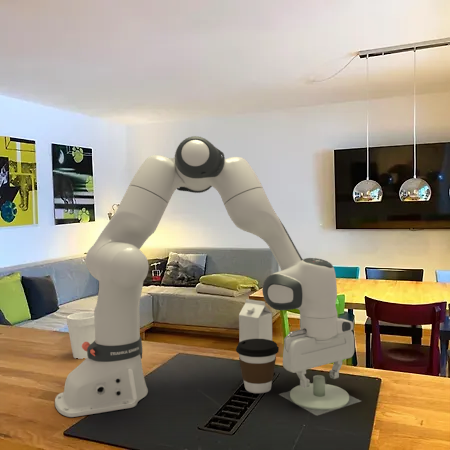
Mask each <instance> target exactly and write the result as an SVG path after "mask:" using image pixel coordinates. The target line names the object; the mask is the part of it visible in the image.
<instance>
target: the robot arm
mask: <svg viewBox="0 0 450 450" xmlns="http://www.w3.org/2000/svg"><path fill="white" fill-rule="evenodd" d="M211 188H214V189H215V190H216V191H217V192H218V194H219V196H220V198H221V201H222V202H223V206H224V208H225V210H226V212H227V215H228V216H229V218H230V220H231V221H232V223H233V224H234V225H235V227H236V228H238V229H240V230H242V231H244V232H247V233H250V234H252V235H254V236H256V237H257V238H260V239H261V240H262V241H264V242H265V244H266V245H267V246H268V247H269V249H270V251H271V253H272V255H273V256H274V259H275V260H276V262H277V264H278V266H279V267H280V270H279V271H276V272H273V273H271V274H270V275H268V276H267V277H266V278H265V280H264V281H263V285H262V297H263V299H264V302H265V304H267V305H268V307H270V308H272V309H273V310H276V311H287V310H288V311H289V310H290V311H291V310H299V318H300V319H299V321H300V322H299V325H300V329H298V330H294V331H289V332H288V334H287V335H286V336H285V337H284V340H283V342H284V344H283V353H282V366H283V368H284V370H285V371H288V372H290V373H294V374H295V373H296V375H297V377H298V379H299V385H301V387H303V388H306V387H309V386H310V384H309V383H311V382H310V379H309V378H307V377H306V376H305V375H306V374H307V370H310V369H315V368H317V367H321V366H324V365H328V364H332V363H333V365H332V368H331V369H330V370H328V371H329V378H330V379H333V380H336V379H339V377H340V370H341V367H342V365H343V360H347V359H351V358H352V357H353V356H354V353H355V335H354V332H353V330H354V322H353V321H351V320H348V319H345V318H341V317H338V309H337V306H336V302H337V298H338V290H337V289H338V288H337V287H338V286H337V276H336V271H335V268H334V266H333V264H332V263H331V262H329V261H327V260H326V259H322V258H316V257H315V258H314V257H306V258H302V256H301V254H300V252H299V250H298V249H297V247H296V245H295V243H294V242H293V239H292V238H291V236H290V234H289V232H288V231H287V228H286V227H285V225H284V224H283V223H282V220H281V219H280V217H279V216H278V215H277V213H276V212H275V209H274V208H273V206H272V203H271V202H270V200H269V197H268V196H267V194H266V192H265V189H264V187H263V185H262V183H261V181H260V179H259V178H258V176H257V173H256V172H255V170H254V169H253V168H252V166H251V165H250V163H249V162H248V161H247V160H246V158H244V157H241V156H230V157H228V158H225V154H224V152H223V151H221V150H220V149H218V147H216V146H215V145H214V144H213V143H212V142H210V141H209V140H208V139H206V138H204V137H202V136H197V135H193V136H189V137H187V138H184V139H183V140H182V141H181V142H180V143H179V144H178V146H177V148H176V150H175V152H174V157H169V158H168V157H167V156H165V155H160V154H153V155H150V156H148V157H147V158H146V159H145V160H144V161H143V163H142V164H141V165H140V167H139V169H137V172H135V174H134V176H133V178H132V179H131V181H130V183H129V186H128V187H127V189H126V192H125V193H124V195H123V196H122V199H121V201H120V203H119V205H118V207H117V208H116V211H115V212H114V214H113V216H112V217H111V219H110V220H109V222H107V224H106V225H105V227H104V228H103V230H102V231H101V232H100V234H99V236H98V238H97V239H96V241H95V242H94V243H93V244H92V246H91V247H89V249H88V251H87V253H86V256H85V264H86V265H85V266H86V267H87V268H86V269H87V270H88V272H89V274H90V275H91V276H92V277H93V278H94V279H95V280H97V281H98V293H97V300H96V305H95V307H94V309H93V311H94V312H93V313H94V321H95V341H94V342H93V343H92V344H90V343H89V342H84V343H83V344H82V348H83V349H84V350H85V351H87V356H88V358H85V359H84V360H82V362H81V363H80V364H79V365H77V367H75V368H74V369H73V370H72V371H70V372H69V373H68V375H67V376H66V379H65V383H64V389H63V392H60V393H58V394H57V395H56V396H55V399H54V407H55V409H56V410H57V412H58V413H60V415H63V416H65V417H67V418H74V417H81V416H87V415H93V414H101V413H107V412H114V411H118V410H124V409H125V410H126V409H132V408H134V407H136V406H137V405H138V402H139V401H141V400H142V399H143V398H145V397H147V395H148V393H149V389H148V387H147V383H146V380H145V375H144V370H143V363H142V359H143V342H142V337H141V335H140V333H141V332H140V331H141V330H140V328H141V327H140V326H141V325H140V304H141V298H142V291H143V287H144V281H145V279H147V276H148V273H149V267H150V265H149V260H148V259H147V257H146V255H145V253H143V252H142V251H141V250H140V249H141V248H142V247H143V245H144V244H145V243H146V241H147V240H148V239H149V238H150V237H151V236H152V235H153V234H154V233H155V232H156V230H157V228H158V226H159V224H160V222H161V219H162V218H163V215H164V214H165V211H166V209H167V207H168V205H169V204H170V201H171V198H172V197H173V195H174V192H175V191H176V190H177V191H181V192H190V193H194V194H200V193H205V192H207V191H209V190H210V189H211Z"/></svg>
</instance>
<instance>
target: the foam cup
mask: <svg viewBox="0 0 450 450" xmlns="http://www.w3.org/2000/svg"><path fill="white" fill-rule="evenodd" d="M66 326H67V329H68V333H69V335H68V336H69V340H70V341H69V342H70V346H71V347H70V348H71V351H72V356H73V359H76V358H78V360H81V359H83V358H85V359H86V358H88V356H87V351H85V350H84V349H83V348H82V344H83V343H84V342H89V343H90V344H92V343H93V342H94V341H95V321H94V312H91V311H89V312H88V311H87V312H86V311H85V312H76V313H71V314H69V315H67V316H66Z"/></svg>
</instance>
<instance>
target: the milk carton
mask: <svg viewBox="0 0 450 450" xmlns="http://www.w3.org/2000/svg"><path fill="white" fill-rule="evenodd" d="M238 326H239V327H238V329H239V330H238V331H239V332H238V333H239V335H238V336H239V338H238V339H239V342H241V341H243V340H248V339H267V340H271V341H273V312H271V310H270V309H269V308H268V307H267V305H266V301H262V300H255V299H247V298H246V299H245V303H244V304H243V306H242V308H241V310H240V312H239V314H238ZM239 342H238V343H239Z"/></svg>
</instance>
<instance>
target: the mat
mask: <svg viewBox="0 0 450 450" xmlns="http://www.w3.org/2000/svg"><path fill="white" fill-rule="evenodd" d="M290 391H291V390H288V391H285V392H281V393H278V395H279V396H280V397H283V398H284V399H286V400H288V401H289V402H291V403H292V404H295V403H294V402H293V401H292V400H291V398H290ZM360 402H362V400H360V399H359V398H356V397H355V396H352V395H350V394H349V402H348V404H347V405H345V406H344V407H341V408H338V409H334V410H314V409H308V408H305V407H302V406H299V405H297V404H295V405H297V406H298V407H300V408H301V409H303V410H306V411H308V412H309V413H311V414H312V415H314V416H316V417H318V416H320V415H324V414H327V413H330V412H333V411H336V410H340V409H342V408H345V407H348V406H352V405H355V404H357V403H360Z"/></svg>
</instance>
